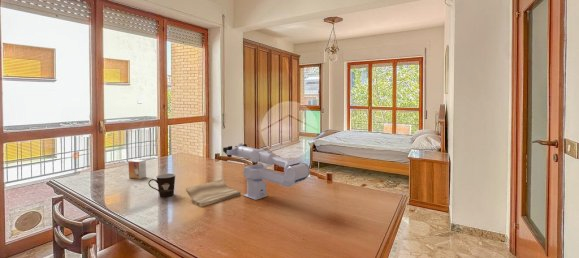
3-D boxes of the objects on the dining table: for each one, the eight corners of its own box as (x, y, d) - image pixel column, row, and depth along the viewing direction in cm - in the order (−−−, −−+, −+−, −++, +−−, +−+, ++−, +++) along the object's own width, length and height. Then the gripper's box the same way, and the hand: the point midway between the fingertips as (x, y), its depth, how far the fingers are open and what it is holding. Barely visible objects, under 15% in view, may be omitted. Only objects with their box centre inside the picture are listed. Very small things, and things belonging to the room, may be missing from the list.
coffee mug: (179, 192, 149) (178, 173, 148) (170, 198, 141) (169, 178, 140) (157, 192, 151) (156, 173, 150) (147, 197, 142) (146, 177, 141)
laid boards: (240, 195, 146) (240, 191, 146) (200, 206, 130) (200, 203, 130) (232, 192, 151) (232, 189, 150) (192, 203, 134) (192, 199, 134)
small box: (128, 178, 178) (127, 161, 176) (136, 175, 183) (135, 159, 182) (139, 179, 175) (138, 161, 174) (146, 176, 181) (145, 160, 179)
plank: (229, 191, 151) (229, 189, 150) (193, 201, 136) (194, 199, 135) (221, 181, 155) (221, 179, 154) (185, 190, 140) (186, 187, 140)
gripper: (257, 143, 151) (240, 140, 160) (234, 146, 141) (218, 142, 150) (257, 156, 152) (240, 152, 161) (234, 160, 141) (218, 156, 150)
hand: (229, 148), depth 155 cm, fingers open, 7 cm apart
